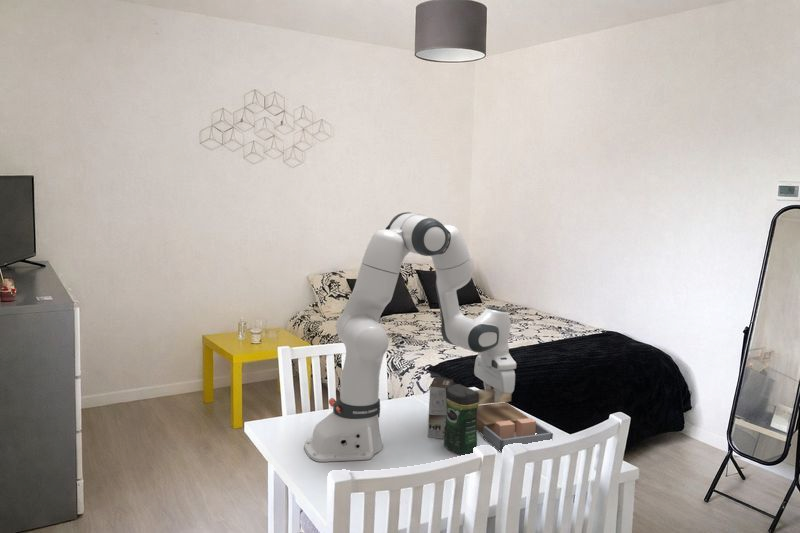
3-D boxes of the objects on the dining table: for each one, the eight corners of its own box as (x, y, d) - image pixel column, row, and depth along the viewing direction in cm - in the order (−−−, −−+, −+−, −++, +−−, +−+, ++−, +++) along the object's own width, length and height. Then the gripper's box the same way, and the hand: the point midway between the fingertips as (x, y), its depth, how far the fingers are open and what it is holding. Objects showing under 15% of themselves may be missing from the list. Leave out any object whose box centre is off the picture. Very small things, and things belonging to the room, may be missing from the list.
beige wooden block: (478, 404, 201) (478, 394, 201) (473, 401, 205) (473, 390, 204) (510, 401, 206) (511, 390, 205) (505, 397, 209) (506, 387, 209)
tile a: (494, 437, 192) (499, 441, 189) (495, 422, 191) (500, 425, 188) (508, 435, 193) (514, 439, 191) (509, 420, 193) (515, 424, 190)
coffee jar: (481, 451, 183) (484, 389, 180) (460, 457, 178) (463, 394, 176) (459, 439, 191) (462, 380, 188) (439, 445, 186) (441, 384, 184)
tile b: (515, 435, 194) (520, 439, 191) (516, 419, 193) (521, 423, 191) (529, 433, 196) (535, 437, 193) (530, 417, 195) (536, 421, 192)
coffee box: (448, 439, 190) (450, 388, 188) (427, 437, 192) (429, 386, 189) (451, 428, 199) (454, 378, 197) (431, 425, 200) (433, 376, 198)
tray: (500, 452, 183) (501, 440, 182) (483, 437, 193) (483, 426, 192) (552, 444, 189) (552, 433, 189) (532, 430, 199) (533, 420, 199)
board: (485, 436, 193) (485, 424, 193) (462, 418, 207) (463, 407, 206) (529, 430, 199) (530, 418, 198) (505, 413, 213) (506, 402, 212)
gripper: (470, 348, 211) (468, 388, 214) (501, 366, 193) (499, 410, 195) (487, 347, 214) (485, 386, 216) (519, 365, 195) (517, 408, 197)
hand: (492, 398), depth 205 cm, fingers closed on beige wooden block, 3 cm apart
